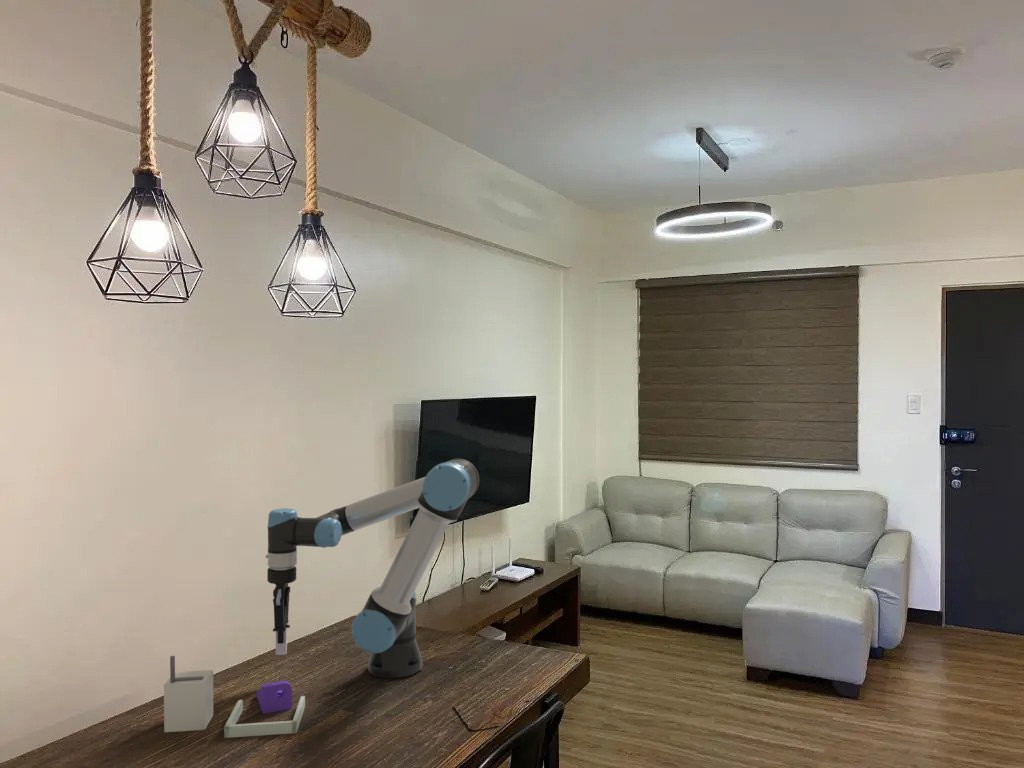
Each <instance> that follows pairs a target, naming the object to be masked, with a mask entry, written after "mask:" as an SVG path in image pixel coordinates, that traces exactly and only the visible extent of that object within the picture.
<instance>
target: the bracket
mask: <svg viewBox="0 0 1024 768" xmlns="http://www.w3.org/2000/svg"><path fill="white" fill-rule="evenodd" d="M292 690H293V689H292V685H291V684H290V682H289V681H288V680H279V681H273V682H268V683H263V684H261V689H258V690H257V691H256V694H255V695H256V698H257V702H258V704H259V707H260V709H261V712H262V714H263V715H264V714H269V713H276V712H281V711H286V710H292V707H293V705H292V704H293V700H292V699H293V698H292V694H293V691H292Z"/></svg>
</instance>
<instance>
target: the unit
mask: <svg viewBox="0 0 1024 768" xmlns="http://www.w3.org/2000/svg"><path fill="white" fill-rule="evenodd" d="M169 658H170V659H169V660H170V661H169V662H170V663H169V664H170V665H169V668H170V669H169V670H170V671H169V672H170V674H169V675H170V677H169V678H167V679H168V680H167V681H166V682H165V683H164V684H163V707H164V708H163V720H164V722H163V726H164V727H163V728H164V731H163V732H164V733H176V732H189V731H190V732H192V731H205V730H206V729H207V726H208V725H209V723H210V722H211V720H212V718H213V716H214V670H213V669H208V670H207V669H206V670H204V669H203V670H191V671H187V670H185V671H176V655H171V656H170V657H169Z"/></svg>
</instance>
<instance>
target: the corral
mask: <svg viewBox="0 0 1024 768" xmlns="http://www.w3.org/2000/svg"><path fill="white" fill-rule="evenodd" d="M243 702H244V700H243V699H238V700H237V702H236V704H235V706H234V708H233V710H232V711H231V714H230V716H229V717H228V719H227V721H226V723H225V724H224V726H223V727H224V729H223V731H224V734H223V735H224V737H223V738H224V739H227V738H228V739H230V738H241V737H243V738H244V737H258V736H259V737H260V736H272V735H288V734H297V733H298V730H299V726H300V724H301V720H302V717H303V714H304V711H305V708H306V695H301V696H300V699H299V701H298V704H297V707H296V710H295V713H294V716H293V719H292V720H285V721H265V722H253V723H252V722H251V723H238V720H239V718H240V716H241V715H242V712H243V711H244V710H243V709H244V706H243V705H244V703H243ZM237 723H238V724H237Z"/></svg>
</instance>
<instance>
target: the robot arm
mask: <svg viewBox="0 0 1024 768" xmlns="http://www.w3.org/2000/svg"><path fill="white" fill-rule="evenodd" d="M479 485H480V475H479V472H478V470H477V468H476V467H475V465H474V464H473V463H472V462H470V461H469V460H467V459H464V458H463V459H462V458H453V459H450V460H448V461H445V462H440V463H439V464H436V465H435V466H434V467H432V468H431V470H429V471H428V472H427V473H426V475H425V476H424V477H420V478H419V479H415V480H413V481H412V480H411V481H409V482H407V483H403V484H402V485H399V486H396V487H393V488H390V489H388V490H385V491H382V492H380V493H377V494H374V495H372V496H369V497H366V498H364V499H362V500H358V501H356V502H353V503H350V504H347V505H345V506H342V507H339V508H338V507H337V508H336V509H332V510H330V511H329V512H327V513H323V514H322V515H320V516H317V517H299V516H298V512H297V510H296V509H295V508H288V507H287V508H275V509H273V510H271V511H269V513H268V517H267V518H268V520H267V526H266V527H267V554H265V555H264V556H265V559H268V560H267V566H268V568H267V582H268V583H269V584H271V585H272V584H274V585H275V587H274V589H273V590H272V591H273V592H272V596H273V599H272V602H273V603H272V604H273V618H274V619H273V620H274V621H273V622H274V624H273V625H274V628H273V629H272V632H275V656H276V655H277V656H279V655H280V656H281V655H283V656H284V655H287V653H288V651H287V650H288V629H290V628H291V624H289V606H290V605H289V604H290V592H291V586H289V584H291V583H293V582H295V581H296V580H297V567H296V565H297V563H298V557H297V556H298V555H297V554H298V549H297V548H298V547H313V548H314V547H316V548H323V549H324V548H335V547H337V546H338V545H339V542H341V538H342V536H344V535H348V534H350V533H353V532H355V531H358V530H361V529H363V528H366V527H369V526H372V525H375V524H378V523H380V522H382V521H385V520H388V519H392V518H394V517H397V516H400V515H403V514H405V513H409V512H411V511H414V510H417V509H419V510H418V511H417V514H416V516H415V517H414V520H413V522H412V524H411V525H410V527H409V530H408V531H407V533H406V535H405V537H404V540H403V541H402V543H401V544H400V545H401V546H400V547H399V550H398V552H397V554H396V555H395V558H394V560H393V561H392V564H391V565H390V568H389V569H388V572H387V574H386V575H385V577H384V579H383V582H382V584H381V585H380V586H378V587H376V588H374V589H372V591H371V593H370V595H368V599H367V600H366V602H365V605H364V606H363V608H362V610H361V611H360V612H358V613H357V614H356V615H355V617H354V620H353V621H352V624H351V635H352V638H353V640H354V642H355V643H356V645H357V646H358V647H359V648H360V649H361V650H363V651H364V652H367V653H369V654H370V656H369V658H368V662H367V663H368V664H367V672H368V673H369V674H370V675H372V676H373V677H377V678H381V679H400V678H406V677H410V676H412V675H416V674H418V673H419V672H420V671H422V669H423V657H422V654H421V652H420V649H419V646H418V643H417V635H416V634H417V628H416V627H417V622H416V621H417V619H416V618H417V609H416V608H417V605H416V604H417V597H416V589H417V588H418V586H419V584H420V582H421V580H422V577H423V576H424V573H425V572H426V570H427V568H428V566H429V564H430V563H431V560H432V558H433V556H434V554H435V552H436V550H437V548H438V546H439V544H440V542H441V540H442V538H443V537H444V534H445V532H446V531H447V528H448V526H449V524H451V523H454V522H457V521H458V519H459V517H460V515H461V513H462V511H463V510H464V507H465V505H466V504H467V502H468V500H469V499H470V498H472V497H473V496H474V495H475V494H476V492H477V490H478V488H479ZM421 668H422V669H421ZM419 670H420V671H419ZM418 671H419V672H418ZM417 672H418V673H417ZM415 673H416V674H415Z"/></svg>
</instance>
